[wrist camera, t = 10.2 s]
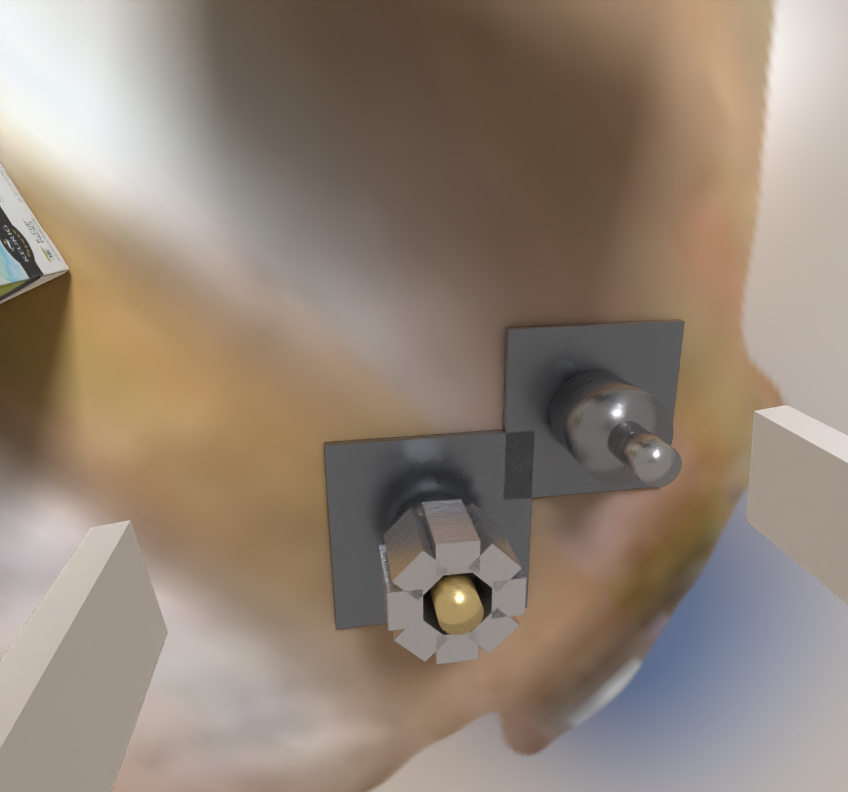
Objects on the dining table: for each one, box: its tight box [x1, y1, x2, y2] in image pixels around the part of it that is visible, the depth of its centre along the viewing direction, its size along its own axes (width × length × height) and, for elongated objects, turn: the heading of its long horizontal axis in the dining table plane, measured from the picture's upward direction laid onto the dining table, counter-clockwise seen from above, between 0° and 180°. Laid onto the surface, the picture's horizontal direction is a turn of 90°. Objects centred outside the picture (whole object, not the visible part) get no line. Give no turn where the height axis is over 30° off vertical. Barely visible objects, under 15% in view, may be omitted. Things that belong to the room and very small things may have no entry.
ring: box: [379, 499, 526, 664], centre depth 38 cm, size 8×8×5 cm
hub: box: [324, 430, 535, 635], centre depth 39 cm, size 14×14×10 cm
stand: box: [503, 320, 684, 500], centre depth 38 cm, size 12×12×10 cm
